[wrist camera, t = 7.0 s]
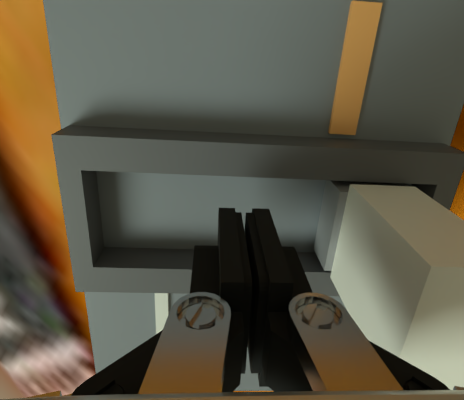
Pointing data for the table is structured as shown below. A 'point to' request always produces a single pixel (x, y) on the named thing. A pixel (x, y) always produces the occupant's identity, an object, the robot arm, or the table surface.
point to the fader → (398, 271)
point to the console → (235, 132)
